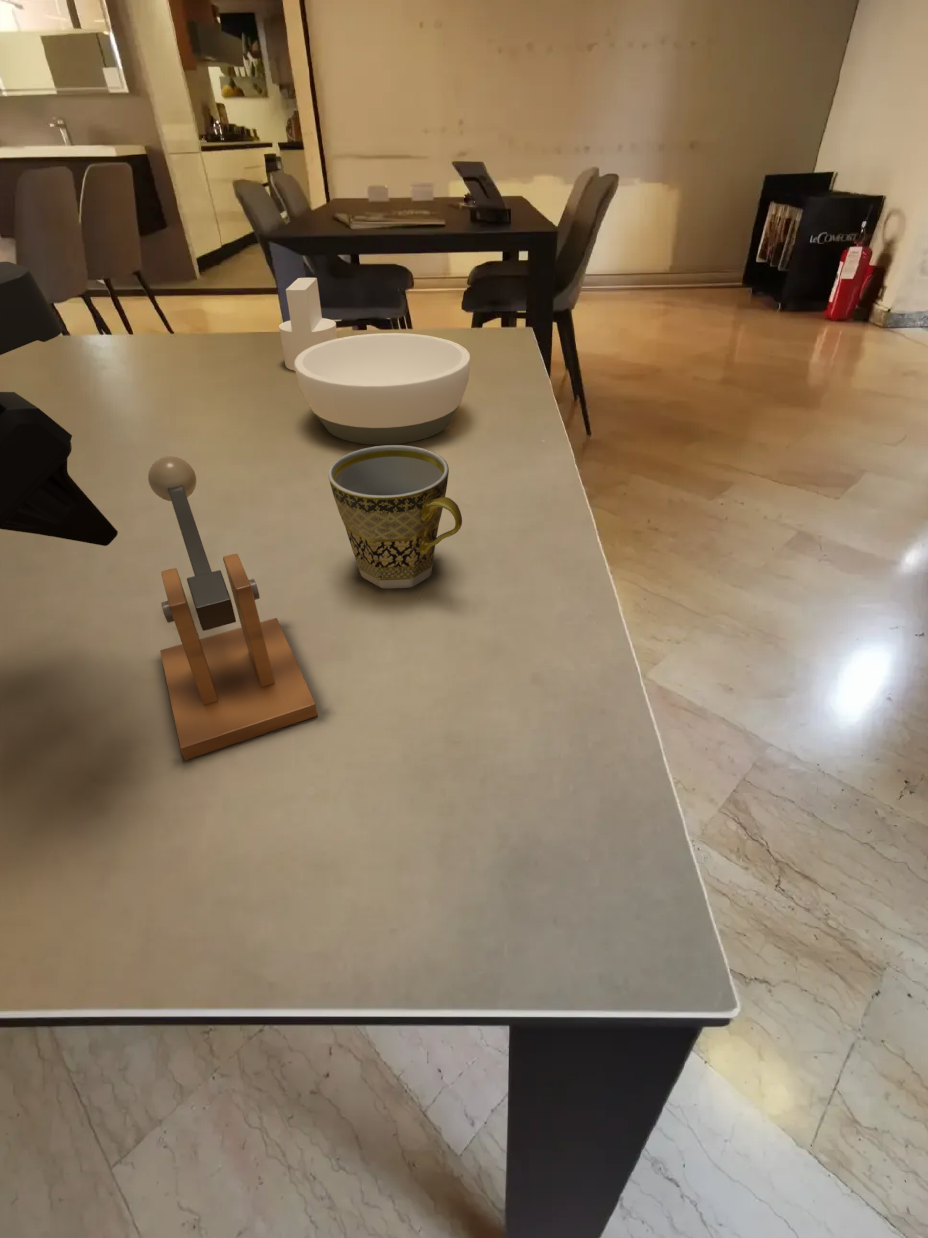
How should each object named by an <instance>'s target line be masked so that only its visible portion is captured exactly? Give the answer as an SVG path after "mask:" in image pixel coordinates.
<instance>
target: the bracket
mask: <svg viewBox="0 0 928 1238" xmlns="http://www.w3.org/2000/svg"><path fill="white" fill-rule="evenodd" d="M222 559H223V564H224V567H225V571H226V574H227V578H228V582H229V585H230V589H231V593H232V597H233V600H234V603H235V604H234V605H235V608H236V611H237V616H238V619H239V623H240V627H238V628H235V629H231V630H228V631H227V630H226V631H224V632H221V633H217V634H213V635H209V636H206V637H203V638H200V635H199V633H198V630H197V626H196V624H195V620H194V618H193V614H192V611H191V608H190V605H189V602H188V599H187V596H186V593H185V589H184V587H183V584H182V580H181V577H180V574H179V571H178V568H176V567H174V568H173V567H172V568H170V569H169V568H168V569H165V570H161V571H160V574H161V577H162V578H161V579H162V582H163V586H164V587H163V588H164V591H165V595H166V598H167V600H165V601H161V602H160V603H161V604H160V605H161V608H162V612H163V615H164V618H165V621H166V623H174V624H175V627H176V630H177V633H178V636H179V639H180V642H181V644H177V645H174V646H171V647H167V648H163V649H160V651H159V652H160V658H161V661H162V667H163V672H164V676H165V680H166V686H167V690H168V696H169V700H170V705H171V709H172V714H173V719H174V723H175V728H176V729H175V730H176V734H177V738H178V739H177V740H178V743H179V748H180V751H181V753H182V756H183V758H184V760H185V761H187V760H190V759H193V758H196V757H199V756H202V755H205V754H208V753H211V752H214V751H217V750H221V749H223V748H226V747H229V746H232V745H235V744H238V743H241V742H243V741H247V740H249V739H252V738H253V739H254V738H255V737H259V736H262V735H265V734H268V733H271V732H274V731H276V730H277V731H278V730H279V729H282V728H285V727H288V726H291V725H294V724H297V723H300V722H303V721H306V720H310V719H312V718H314V717H317V716H318V714H319V713H318V709H317V704H316V701H315V700H314V698H313V695H312V693H311V691H310V688H309V686H308V684H307V682H306V679H305V677H304V676H303V673H302V671H301V668H300V666H299V664H298V662H297V659H296V657H295V655H294V652H293V651H292V649H291V646H290V644H289V642H288V640H287V637H286V635H285V633H284V630H283V628H282V626H281V624H280V622H279V620H278V618H277V617H275V618H271V619H268V620H263V621H261V620H260V616H259V612H258V607H257V604H256V600H259V599H260V598H261V596H260V592H259V589H258V585H257V582H256V580H255V579H254V578H252V579H249V577H248V575H247V573H246V571H245V568H244V566H243V563H242V561H241V558H240V556H239V554H238V553H232V554H228V555H225V556H223V557H222Z"/></svg>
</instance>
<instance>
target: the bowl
mask: <svg viewBox="0 0 928 1238" xmlns="http://www.w3.org/2000/svg"><path fill="white" fill-rule="evenodd" d="M294 367H295V371H294V372H295V375H296V379H297V383H298V386H299V389H300V391H301V393H302V395H303V397H304V399H305V401H306V402H307V404H308V406H309V408H310V409H311V410H312V412H313V414H315V416H316V417H317V418H318V419H319V421H320V422H321V424H322V425H323V426H324V427H325V429H326V430H327V432H328V433H330V434H331V435H332V436H334V437H335V438H339V439H341V440H343V441H347V442H350V443H357V444H363V445H374V446H385V445H402V444H406V443H412V442H417V441H421V440H424V439H425V440H426V439H428V438H430V437H432V436H435V435H437V434H439V433H440V432H442V431H444V430H445V429H446V428H447V427H448V426H449V424H450V423H451V420H452V418H453V416H454V415H455V413H456V411H457V410H458V407H459V406H460V404H461V402H462V400H463V397H464V395H465V392H466V389H467V386H468V383H469V379H470V369H471V368H470V367H471V354H470V352H469V351H468V349H466V348H465V347H464V346H462V344H459V343H457V342H454V341H452V340H449V339H445V338H441V337H438V336H432V335H426V334H419V333H401V332H391V333H390V332H381V333H380V332H379V333H365V334H357V335H350V336H349V335H348V336H344V337H338V339H334V340H330V341H326V342H323V343H320V344H317V345H314V346H312V347H310V348H308V349H306V350H304V351H303V352H302V353H300V354H299V355H298V356H297V358H296V359H295V362H294Z"/></svg>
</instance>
